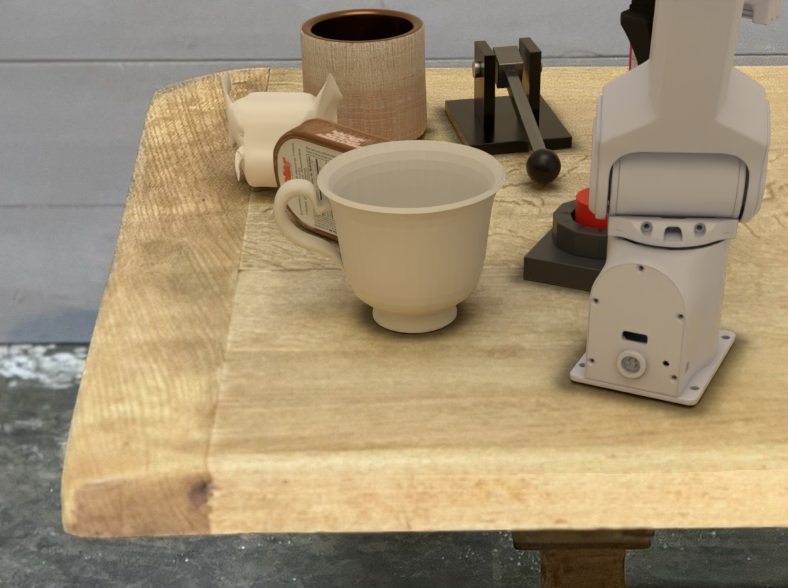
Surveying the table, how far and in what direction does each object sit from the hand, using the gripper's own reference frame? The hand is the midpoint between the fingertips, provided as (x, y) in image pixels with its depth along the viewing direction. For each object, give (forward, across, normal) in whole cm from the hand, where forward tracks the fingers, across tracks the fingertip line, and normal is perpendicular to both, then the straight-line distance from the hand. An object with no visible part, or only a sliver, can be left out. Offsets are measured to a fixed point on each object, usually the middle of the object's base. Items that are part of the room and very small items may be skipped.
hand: (663, 114), depth 91 cm
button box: (+10, +2, +4) cm, 11 cm away
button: (+7, +2, +4) cm, 8 cm away
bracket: (+10, +24, -14) cm, 30 cm away
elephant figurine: (+10, +31, +7) cm, 34 cm away
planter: (+10, +33, -6) cm, 35 cm away
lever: (+8, +19, -10) cm, 23 cm away
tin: (+10, +18, +12) cm, 24 cm away
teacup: (+10, +8, +19) cm, 23 cm away
